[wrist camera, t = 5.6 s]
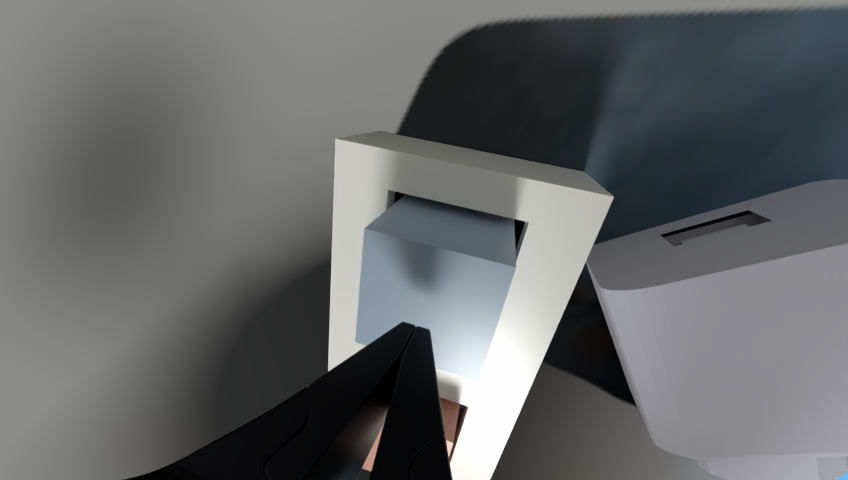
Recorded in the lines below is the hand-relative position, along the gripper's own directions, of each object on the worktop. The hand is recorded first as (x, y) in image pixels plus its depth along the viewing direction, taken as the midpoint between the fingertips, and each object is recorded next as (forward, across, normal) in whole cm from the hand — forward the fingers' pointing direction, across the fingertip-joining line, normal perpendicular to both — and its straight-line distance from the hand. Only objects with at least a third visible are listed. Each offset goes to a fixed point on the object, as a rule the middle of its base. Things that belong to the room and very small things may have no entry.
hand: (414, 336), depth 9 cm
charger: (+9, -14, +3) cm, 17 cm away
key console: (+9, 0, +5) cm, 10 cm away
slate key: (+6, 0, 0) cm, 6 cm away
